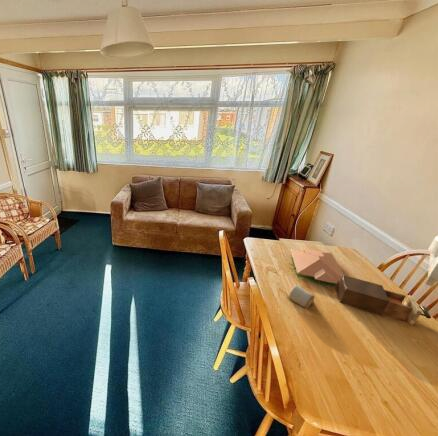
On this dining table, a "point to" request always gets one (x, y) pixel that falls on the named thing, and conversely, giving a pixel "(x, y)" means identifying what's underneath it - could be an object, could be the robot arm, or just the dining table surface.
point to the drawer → (404, 308)
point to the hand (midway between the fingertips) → (428, 279)
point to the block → (394, 300)
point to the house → (317, 266)
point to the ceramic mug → (301, 296)
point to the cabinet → (362, 294)
